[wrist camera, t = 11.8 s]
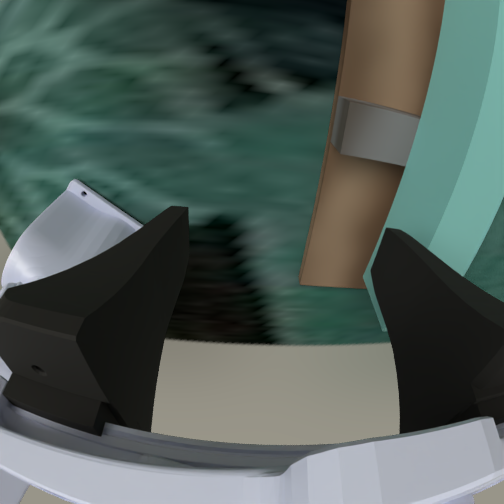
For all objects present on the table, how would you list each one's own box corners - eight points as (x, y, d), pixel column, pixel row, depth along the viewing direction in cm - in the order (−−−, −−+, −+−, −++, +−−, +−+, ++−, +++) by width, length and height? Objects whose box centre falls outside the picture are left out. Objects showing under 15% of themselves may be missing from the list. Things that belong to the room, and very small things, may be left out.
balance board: (298, 276, 26) (303, 307, 23) (352, -61, 11) (369, -79, 8) (421, 284, 26) (435, 310, 23) (498, 5, 11) (528, 5, 8)
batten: (403, 281, 21) (427, 332, 17) (362, 276, 21) (382, 330, 17) (490, 16, 10) (546, 20, 6) (446, -11, 9) (500, -19, 5)
